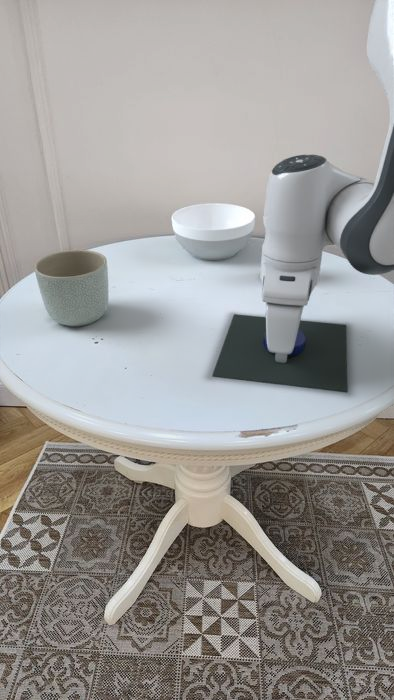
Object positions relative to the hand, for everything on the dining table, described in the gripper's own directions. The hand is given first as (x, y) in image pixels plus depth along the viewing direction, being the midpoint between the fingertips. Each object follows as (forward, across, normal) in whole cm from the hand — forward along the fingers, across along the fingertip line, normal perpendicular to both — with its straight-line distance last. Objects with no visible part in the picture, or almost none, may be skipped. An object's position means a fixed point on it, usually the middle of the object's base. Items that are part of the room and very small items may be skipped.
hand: (283, 347), depth 87 cm
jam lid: (-2, 0, 0) cm, 2 cm away
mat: (+1, 0, 0) cm, 1 cm away
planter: (+1, -4, -38) cm, 38 cm away
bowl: (+1, -40, -20) cm, 45 cm away
